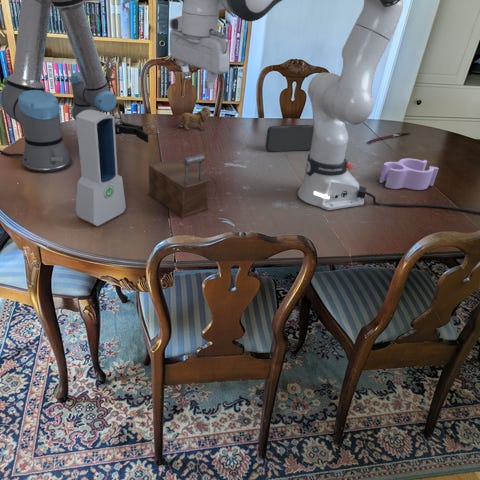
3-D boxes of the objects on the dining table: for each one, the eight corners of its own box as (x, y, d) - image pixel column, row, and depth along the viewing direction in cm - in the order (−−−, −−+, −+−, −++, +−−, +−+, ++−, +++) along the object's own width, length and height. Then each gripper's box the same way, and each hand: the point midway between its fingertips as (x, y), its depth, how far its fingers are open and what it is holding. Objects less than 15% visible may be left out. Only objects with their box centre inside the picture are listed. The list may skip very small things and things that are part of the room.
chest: (207, 208, 144) (208, 182, 139) (182, 217, 138) (182, 189, 133) (173, 187, 154) (174, 161, 149) (149, 194, 148) (148, 167, 143)
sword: (405, 131, 223) (406, 129, 223) (410, 133, 221) (411, 131, 221) (362, 143, 208) (363, 140, 207) (367, 145, 206) (368, 143, 205)
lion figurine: (207, 125, 206) (208, 105, 201) (211, 129, 202) (212, 109, 197) (174, 126, 201) (175, 106, 196) (177, 131, 197) (178, 110, 192)
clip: (392, 192, 166) (397, 174, 162) (373, 176, 175) (377, 159, 172) (437, 188, 172) (443, 171, 168) (416, 174, 182) (422, 157, 178)
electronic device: (94, 228, 128) (85, 122, 112) (75, 219, 131) (63, 114, 115) (126, 211, 138) (122, 111, 121) (108, 203, 141) (101, 104, 124)
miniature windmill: (115, 134, 188) (111, 55, 172) (96, 130, 189) (89, 52, 173) (124, 127, 195) (121, 51, 179) (105, 123, 196) (100, 48, 180)
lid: (210, 182, 138) (211, 155, 134) (184, 190, 133) (185, 162, 128) (174, 161, 149) (174, 135, 144) (148, 167, 143) (148, 140, 138)
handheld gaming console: (315, 147, 196) (319, 124, 190) (317, 149, 194) (322, 126, 188) (264, 149, 189) (267, 125, 183) (266, 152, 187) (269, 127, 181)
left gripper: (129, 126, 180) (161, 145, 167) (67, 140, 165) (97, 161, 153) (128, 107, 175) (160, 124, 163) (64, 119, 161) (95, 140, 148)
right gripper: (237, 33, 109) (233, 92, 117) (185, 18, 121) (184, 73, 129) (217, 34, 106) (213, 96, 113) (165, 19, 118) (165, 75, 125)
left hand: (130, 142), depth 158 cm, fingers open, 13 cm apart
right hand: (197, 83), depth 121 cm, fingers open, 8 cm apart
